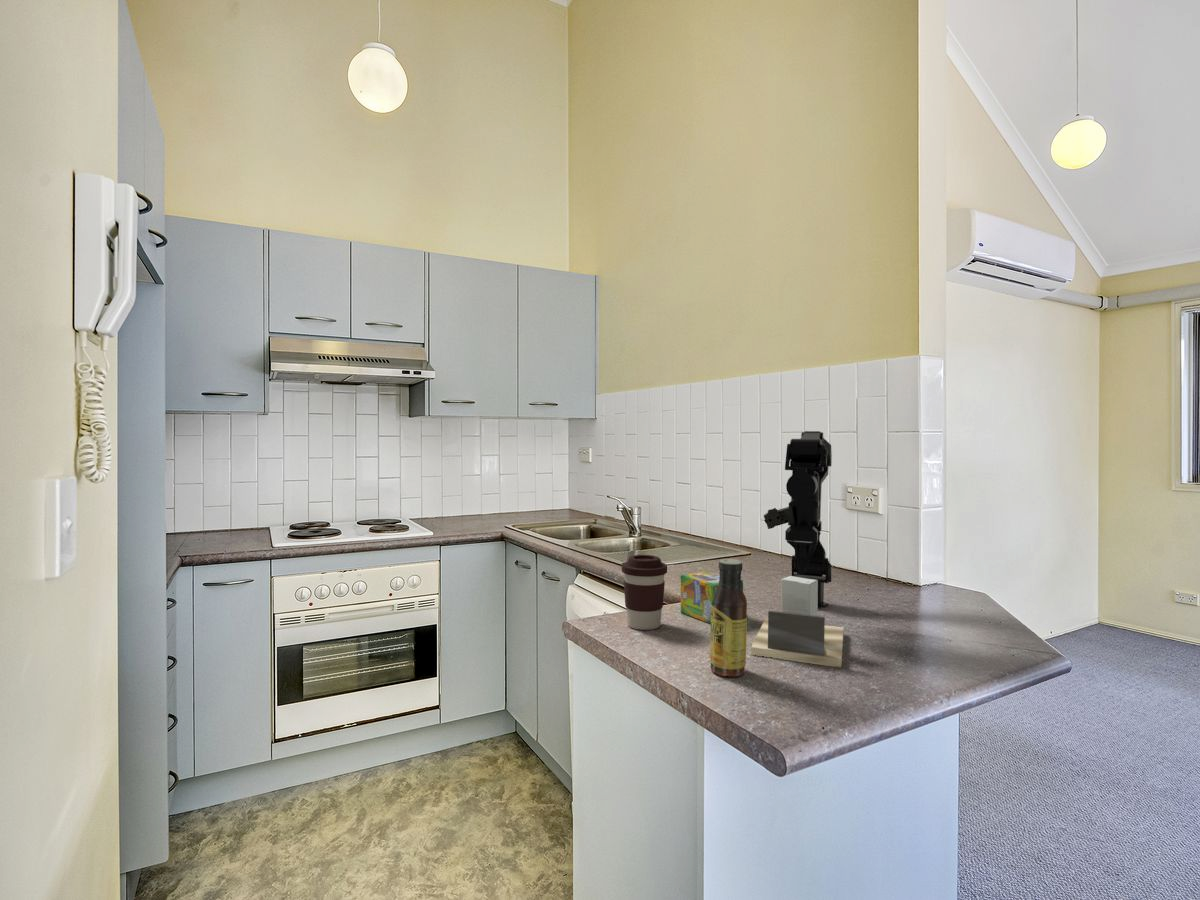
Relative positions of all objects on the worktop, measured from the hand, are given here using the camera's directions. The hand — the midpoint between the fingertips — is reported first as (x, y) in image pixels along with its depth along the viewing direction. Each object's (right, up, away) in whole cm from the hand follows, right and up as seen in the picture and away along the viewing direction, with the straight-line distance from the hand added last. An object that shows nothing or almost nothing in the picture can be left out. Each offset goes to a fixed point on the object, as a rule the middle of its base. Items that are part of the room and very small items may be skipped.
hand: (803, 568), depth 134 cm
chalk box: (-22, -8, +13) cm, 27 cm away
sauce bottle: (-22, -14, -25) cm, 36 cm away
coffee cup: (-35, -13, +1) cm, 37 cm away
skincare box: (-5, -12, -12) cm, 18 cm away
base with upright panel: (-4, -13, -10) cm, 17 cm away
